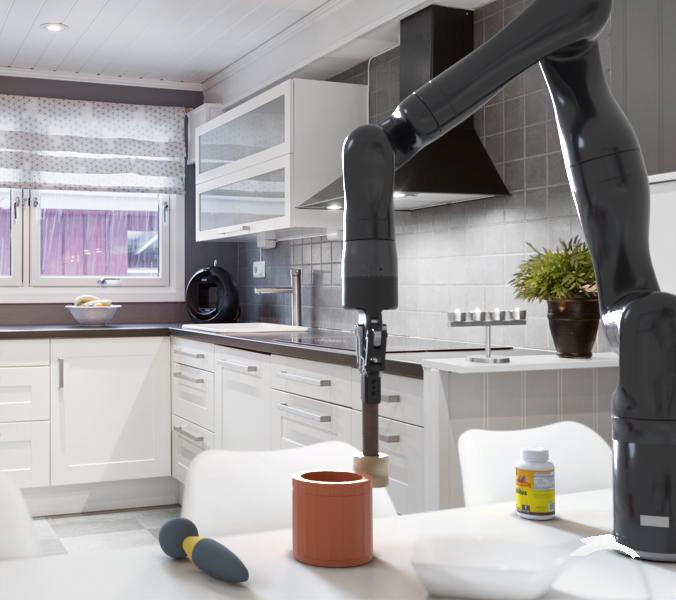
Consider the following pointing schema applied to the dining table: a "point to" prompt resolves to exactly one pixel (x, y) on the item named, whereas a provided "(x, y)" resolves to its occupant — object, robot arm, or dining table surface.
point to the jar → (332, 518)
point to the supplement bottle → (535, 484)
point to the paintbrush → (200, 550)
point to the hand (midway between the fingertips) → (370, 402)
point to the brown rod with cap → (371, 447)
